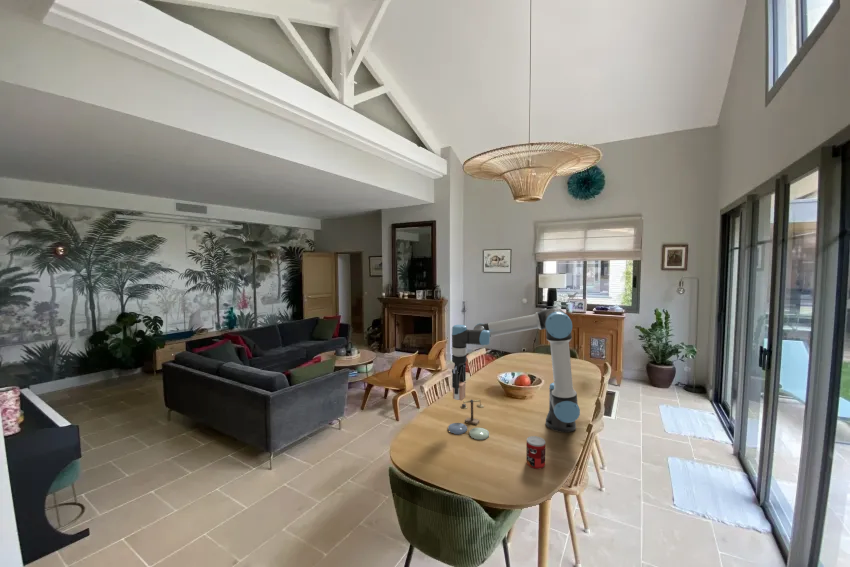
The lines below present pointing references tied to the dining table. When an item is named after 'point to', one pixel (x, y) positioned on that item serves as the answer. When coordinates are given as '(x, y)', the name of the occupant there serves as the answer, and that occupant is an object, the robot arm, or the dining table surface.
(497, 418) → the dining table surface
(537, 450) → the canned food
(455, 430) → the saucer slate far
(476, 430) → the saucer sage near
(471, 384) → the dining table surface
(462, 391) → the block
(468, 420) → the balance
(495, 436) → the dining table surface
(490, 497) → the dining table surface
